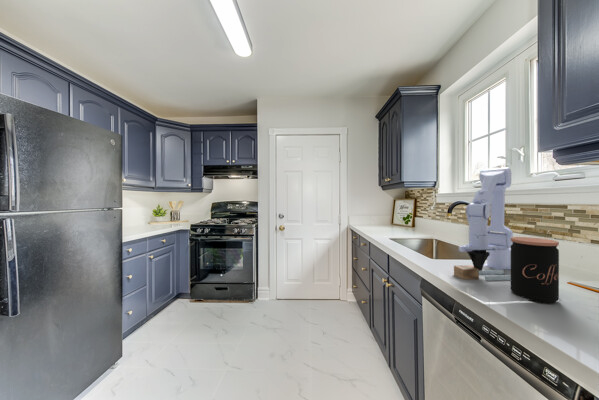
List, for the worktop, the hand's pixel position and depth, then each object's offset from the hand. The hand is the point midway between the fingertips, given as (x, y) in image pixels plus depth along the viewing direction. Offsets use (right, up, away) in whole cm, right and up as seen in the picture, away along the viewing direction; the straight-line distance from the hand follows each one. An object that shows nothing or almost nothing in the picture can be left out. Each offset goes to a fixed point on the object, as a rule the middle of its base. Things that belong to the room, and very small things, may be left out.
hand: (478, 269), depth 90 cm
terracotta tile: (+5, -3, +11) cm, 13 cm away
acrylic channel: (+7, -3, 0) cm, 7 cm away
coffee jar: (+4, -4, -17) cm, 18 cm away
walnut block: (-4, -4, 0) cm, 6 cm away
